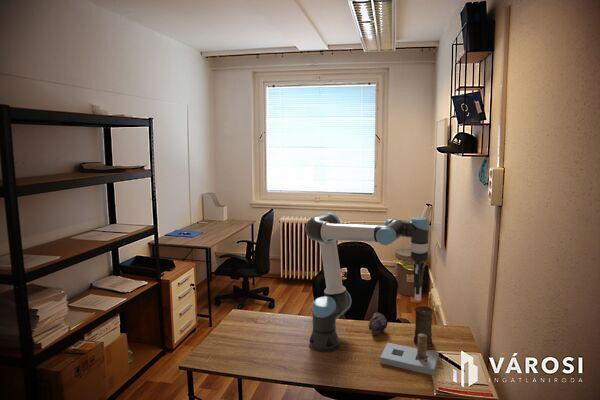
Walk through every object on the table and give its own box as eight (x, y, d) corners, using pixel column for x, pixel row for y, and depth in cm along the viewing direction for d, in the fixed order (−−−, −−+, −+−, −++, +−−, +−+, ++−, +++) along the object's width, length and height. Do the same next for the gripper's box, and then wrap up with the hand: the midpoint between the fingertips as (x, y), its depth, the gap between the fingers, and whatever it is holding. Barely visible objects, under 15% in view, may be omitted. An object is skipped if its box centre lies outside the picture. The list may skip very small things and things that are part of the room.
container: (433, 348, 203) (434, 314, 200) (414, 346, 205) (415, 312, 202) (431, 339, 212) (432, 306, 209) (413, 337, 214) (414, 305, 211)
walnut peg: (416, 365, 190) (417, 337, 187) (417, 360, 193) (418, 332, 191) (425, 367, 188) (426, 338, 185) (426, 362, 192) (427, 334, 189)
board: (380, 362, 192) (380, 357, 192) (387, 348, 204) (387, 342, 204) (433, 375, 182) (434, 369, 181) (438, 359, 194) (438, 353, 194)
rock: (369, 337, 217) (388, 337, 216) (368, 323, 215) (388, 324, 213) (368, 323, 228) (386, 323, 227) (367, 310, 226) (386, 310, 224)
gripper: (425, 256, 181) (423, 306, 185) (430, 248, 192) (428, 295, 196) (407, 254, 184) (406, 304, 188) (413, 246, 195) (412, 293, 200)
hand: (417, 299), depth 192 cm, fingers closed
